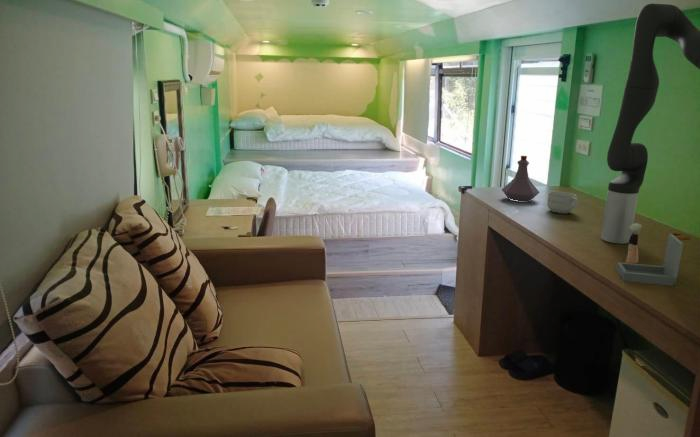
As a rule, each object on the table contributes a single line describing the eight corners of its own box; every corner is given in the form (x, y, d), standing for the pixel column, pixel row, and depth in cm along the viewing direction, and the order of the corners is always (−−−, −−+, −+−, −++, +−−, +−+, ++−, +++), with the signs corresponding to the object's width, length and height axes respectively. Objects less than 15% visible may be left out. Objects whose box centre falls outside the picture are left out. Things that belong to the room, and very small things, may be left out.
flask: (501, 194, 249) (505, 152, 243) (538, 197, 244) (543, 154, 238) (499, 202, 234) (503, 157, 228) (538, 205, 229) (543, 159, 223)
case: (615, 270, 153) (622, 230, 150) (665, 274, 150) (672, 234, 147) (623, 280, 145) (629, 239, 141) (675, 286, 141) (683, 243, 138)
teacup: (541, 209, 223) (543, 190, 221) (564, 208, 225) (567, 190, 223) (559, 217, 210) (562, 198, 207) (584, 216, 211) (587, 197, 209)
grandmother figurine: (638, 268, 154) (645, 227, 151) (624, 266, 155) (630, 225, 152) (636, 260, 161) (642, 220, 158) (622, 259, 162) (628, 219, 159)
